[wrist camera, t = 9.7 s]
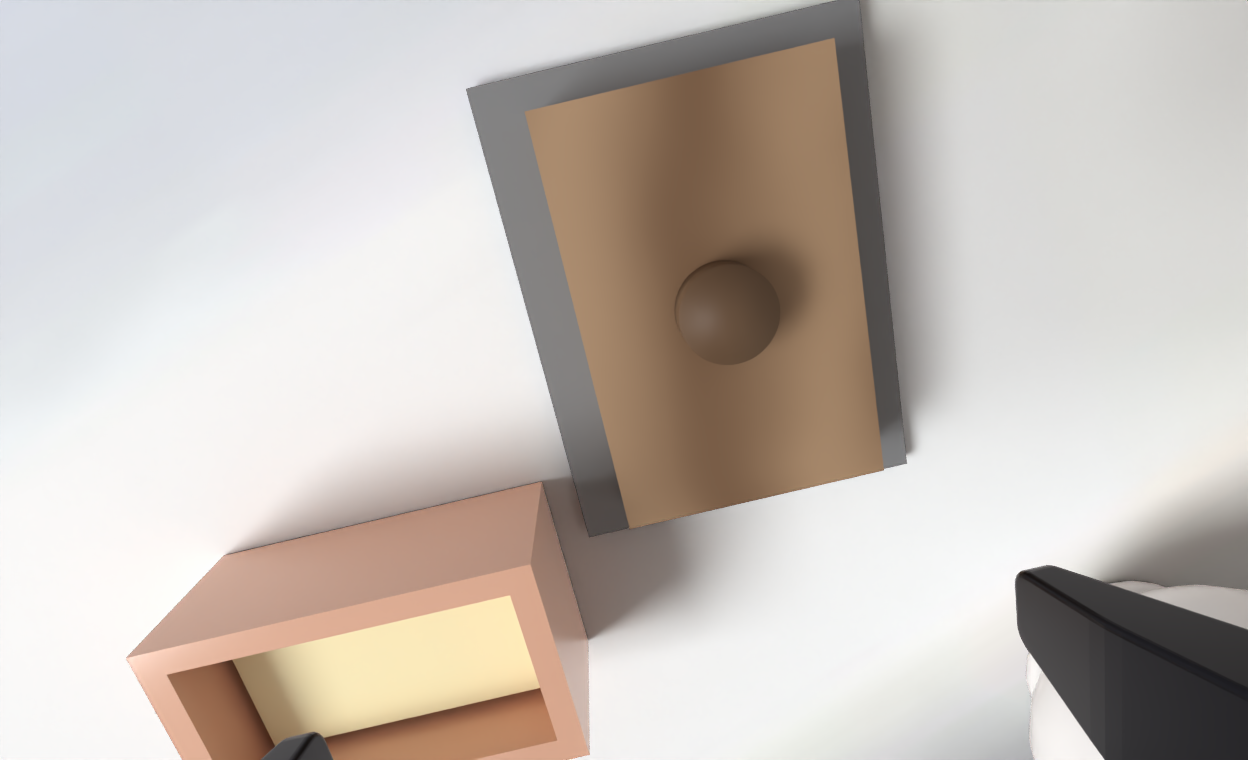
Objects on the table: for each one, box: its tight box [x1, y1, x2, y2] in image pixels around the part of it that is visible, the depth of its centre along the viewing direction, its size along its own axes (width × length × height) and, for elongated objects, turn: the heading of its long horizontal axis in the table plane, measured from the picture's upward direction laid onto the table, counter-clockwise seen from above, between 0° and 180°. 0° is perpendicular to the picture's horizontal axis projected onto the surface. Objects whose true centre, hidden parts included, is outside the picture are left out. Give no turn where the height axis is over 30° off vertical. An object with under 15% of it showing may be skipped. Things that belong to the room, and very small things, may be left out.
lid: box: [525, 38, 884, 529], centre depth 17 cm, size 7×11×3 cm, turn 13°
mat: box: [466, 0, 907, 537], centre depth 18 cm, size 13×10×1 cm
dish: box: [126, 482, 590, 760], centre depth 19 cm, size 6×10×4 cm, turn 103°
